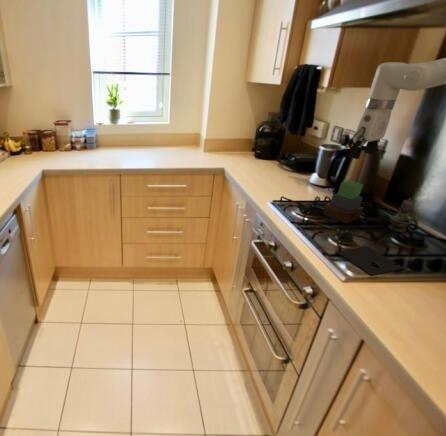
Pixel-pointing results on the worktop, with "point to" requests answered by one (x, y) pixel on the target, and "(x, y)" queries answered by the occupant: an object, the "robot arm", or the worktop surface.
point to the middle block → (346, 202)
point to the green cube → (350, 189)
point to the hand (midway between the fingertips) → (361, 155)
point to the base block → (342, 213)
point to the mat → (369, 260)
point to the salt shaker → (402, 217)
